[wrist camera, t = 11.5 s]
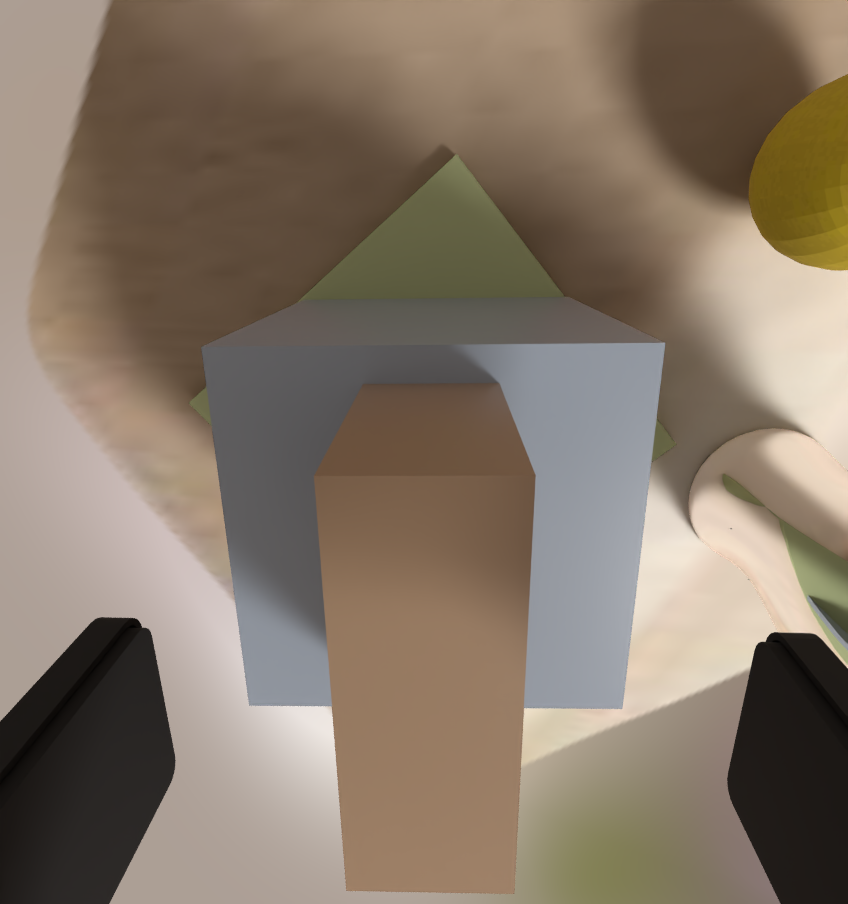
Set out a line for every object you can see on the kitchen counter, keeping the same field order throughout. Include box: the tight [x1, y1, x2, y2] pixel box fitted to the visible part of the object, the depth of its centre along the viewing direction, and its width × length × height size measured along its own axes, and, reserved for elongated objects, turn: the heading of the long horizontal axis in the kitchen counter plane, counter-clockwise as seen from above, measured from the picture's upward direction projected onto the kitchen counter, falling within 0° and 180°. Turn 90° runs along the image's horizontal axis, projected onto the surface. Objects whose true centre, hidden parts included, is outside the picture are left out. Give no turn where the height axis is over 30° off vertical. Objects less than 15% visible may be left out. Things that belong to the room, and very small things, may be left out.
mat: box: [189, 154, 677, 462], centre depth 25 cm, size 14×14×1 cm
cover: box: [201, 297, 665, 894], centre depth 17 cm, size 10×10×16 cm
